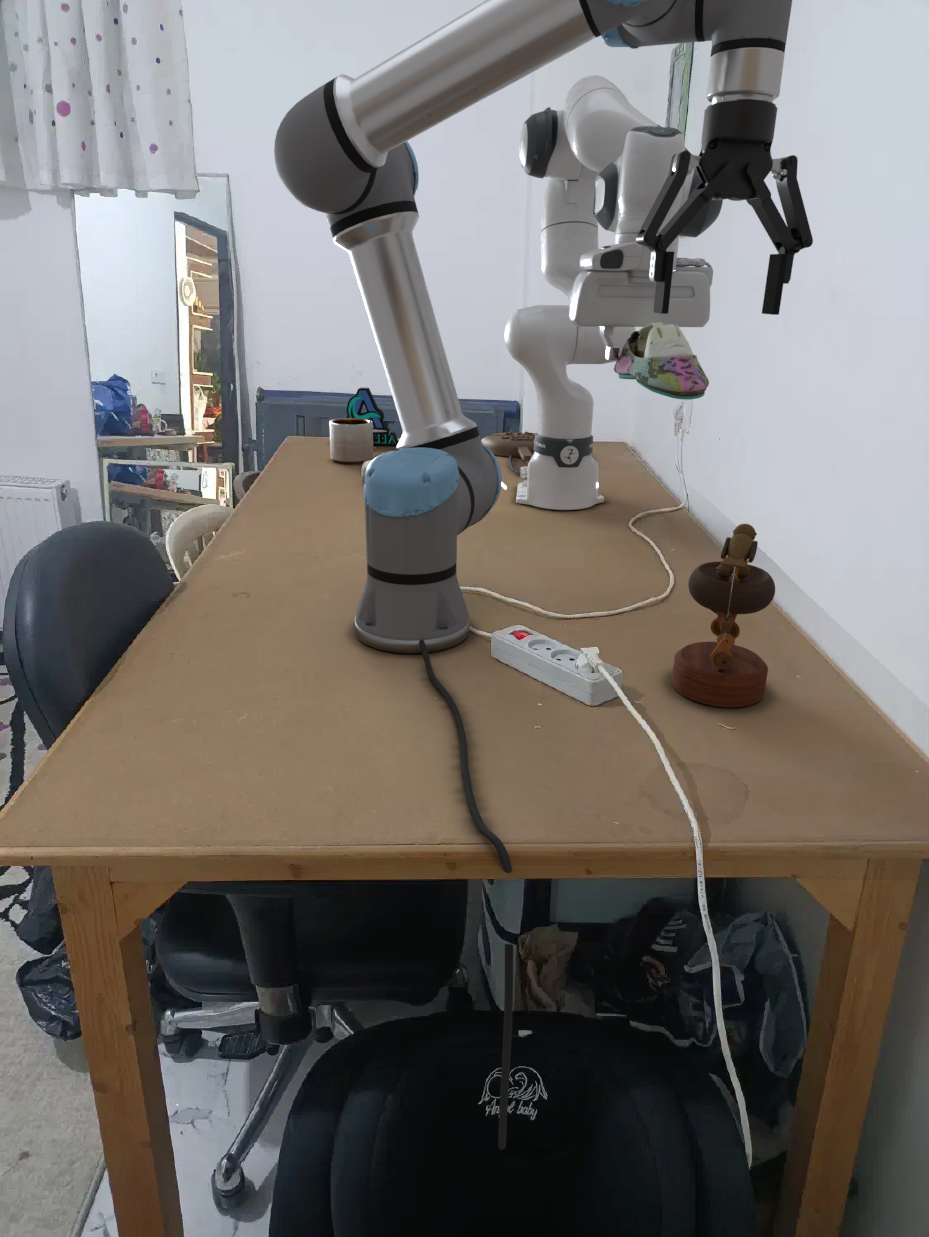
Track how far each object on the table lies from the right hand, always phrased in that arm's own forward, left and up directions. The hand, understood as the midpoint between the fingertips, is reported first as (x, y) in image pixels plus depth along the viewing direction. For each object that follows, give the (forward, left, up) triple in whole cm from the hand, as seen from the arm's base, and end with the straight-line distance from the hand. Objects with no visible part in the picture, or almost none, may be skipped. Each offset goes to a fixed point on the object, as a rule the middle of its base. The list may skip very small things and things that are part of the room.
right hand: (635, 359), depth 124 cm
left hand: (+25, +1, +7) cm, 26 cm away
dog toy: (-64, -31, -33) cm, 78 cm away
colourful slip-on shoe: (+9, 0, -3) cm, 10 cm away
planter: (-89, -44, -33) cm, 105 cm away
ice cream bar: (-94, +1, -33) cm, 100 cm away
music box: (+40, +1, -33) cm, 52 cm away
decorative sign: (-111, -41, -33) cm, 123 cm away
